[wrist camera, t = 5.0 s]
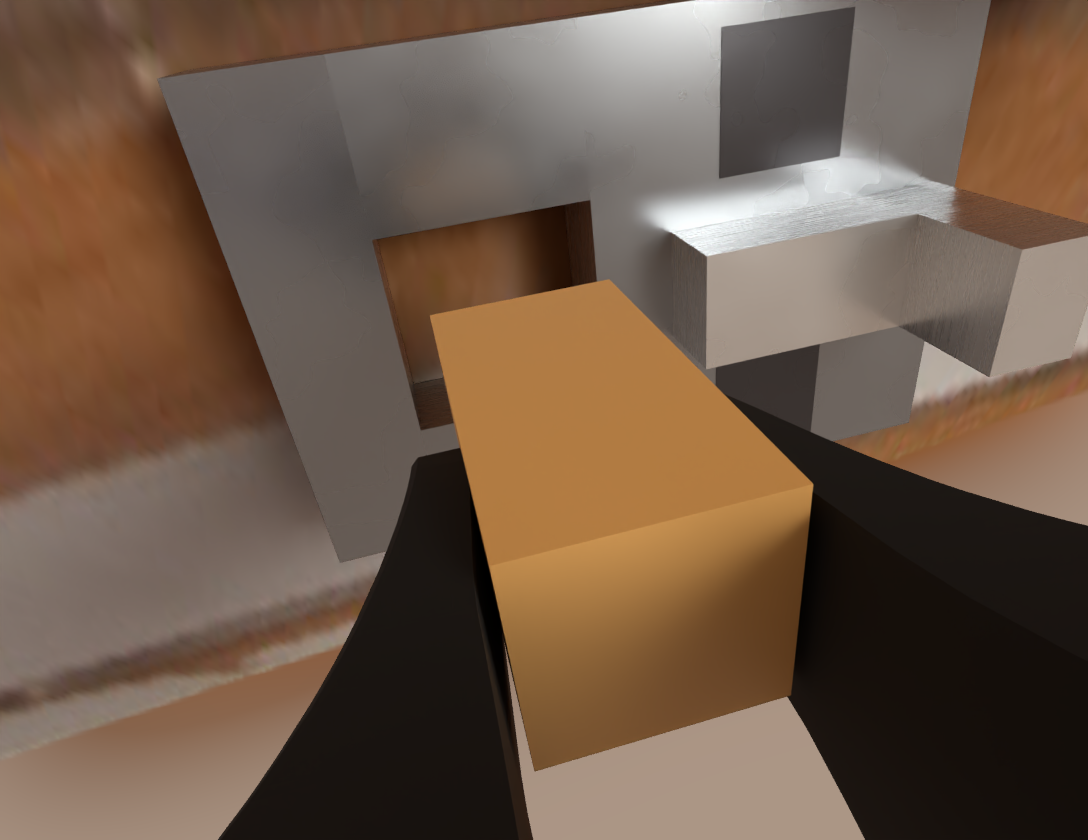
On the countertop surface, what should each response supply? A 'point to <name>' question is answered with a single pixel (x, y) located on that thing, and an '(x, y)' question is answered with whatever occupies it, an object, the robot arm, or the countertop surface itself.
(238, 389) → the countertop surface
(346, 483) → the rosette plate
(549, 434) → the orange rectangular block
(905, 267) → the bracket
